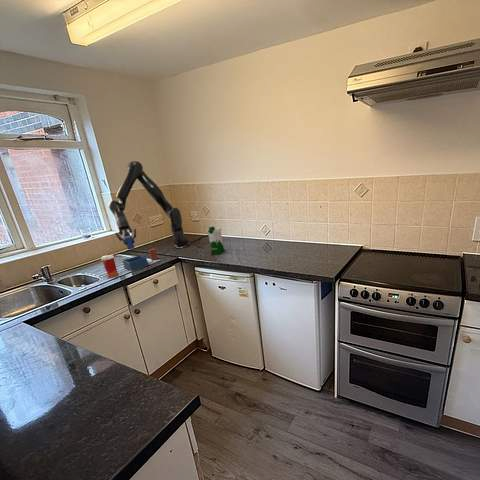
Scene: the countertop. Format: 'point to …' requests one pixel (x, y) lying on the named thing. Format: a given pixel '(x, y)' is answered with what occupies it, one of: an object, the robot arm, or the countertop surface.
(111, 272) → the beer glass
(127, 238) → the blue skittle
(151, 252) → the terracotta skittle
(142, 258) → the blue bin
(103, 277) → the countertop surface
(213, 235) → the milk carton
